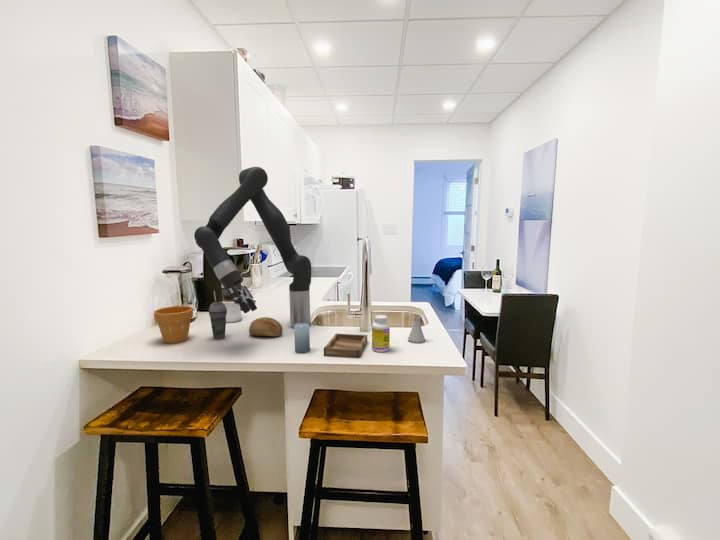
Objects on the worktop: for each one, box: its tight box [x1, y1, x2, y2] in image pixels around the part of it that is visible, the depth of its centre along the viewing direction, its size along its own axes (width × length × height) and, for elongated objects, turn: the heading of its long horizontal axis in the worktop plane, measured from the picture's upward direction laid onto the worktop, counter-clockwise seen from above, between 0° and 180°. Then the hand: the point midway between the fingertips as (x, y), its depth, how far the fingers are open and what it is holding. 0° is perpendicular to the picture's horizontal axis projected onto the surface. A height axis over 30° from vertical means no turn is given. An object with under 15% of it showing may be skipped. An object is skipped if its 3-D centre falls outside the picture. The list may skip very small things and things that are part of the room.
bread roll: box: [248, 316, 284, 337], centre depth 155 cm, size 10×15×8 cm, turn 79°
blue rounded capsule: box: [293, 323, 311, 354], centre depth 136 cm, size 6×6×10 cm
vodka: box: [221, 284, 243, 324], centre depth 178 cm, size 9×9×30 cm
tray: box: [323, 333, 368, 359], centre depth 139 cm, size 18×13×3 cm
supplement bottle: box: [371, 314, 391, 353], centre depth 137 cm, size 7×7×13 cm
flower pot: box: [153, 305, 194, 344], centre depth 150 cm, size 14×14×13 cm
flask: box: [407, 315, 426, 344], centre depth 147 cm, size 7×7×10 cm
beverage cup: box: [208, 290, 227, 340], centre depth 152 cm, size 7×7×20 cm
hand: (251, 311), depth 136 cm, fingers open, 8 cm apart
